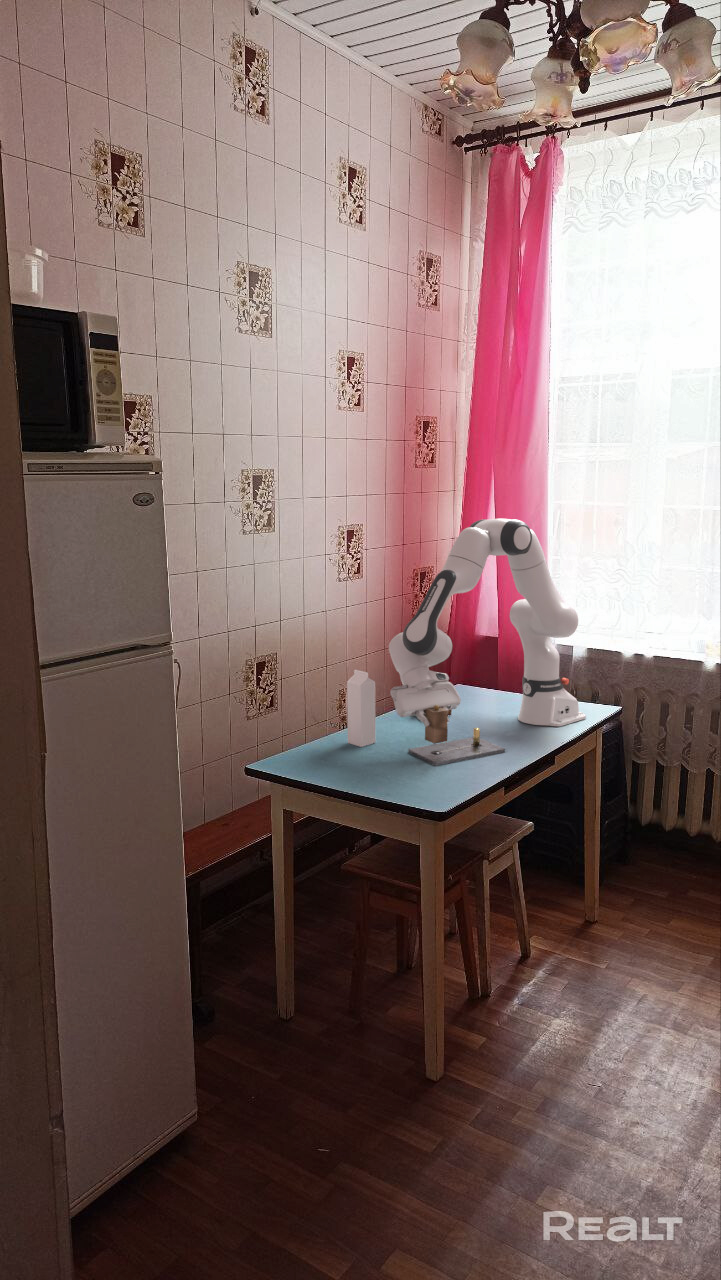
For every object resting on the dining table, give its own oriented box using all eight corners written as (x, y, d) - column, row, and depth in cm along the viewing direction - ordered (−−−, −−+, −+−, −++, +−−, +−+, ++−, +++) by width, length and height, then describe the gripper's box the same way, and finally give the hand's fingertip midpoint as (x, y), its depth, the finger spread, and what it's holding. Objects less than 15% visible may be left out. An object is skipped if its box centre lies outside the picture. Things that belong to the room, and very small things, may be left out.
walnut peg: (438, 737, 256) (438, 702, 255) (447, 741, 253) (447, 706, 251) (425, 739, 254) (425, 704, 252) (433, 743, 250) (434, 708, 249)
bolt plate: (475, 739, 269) (476, 720, 268) (505, 752, 257) (505, 732, 256) (408, 752, 258) (408, 732, 257) (435, 766, 246) (435, 745, 245)
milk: (362, 739, 272) (361, 667, 268) (375, 743, 267) (375, 671, 263) (347, 743, 268) (346, 670, 264) (360, 747, 263) (360, 674, 259)
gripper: (392, 681, 251) (410, 723, 245) (452, 673, 261) (471, 713, 255) (384, 693, 256) (402, 735, 249) (443, 685, 266) (462, 725, 259)
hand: (437, 724), depth 252 cm, fingers closed on walnut peg, 4 cm apart
